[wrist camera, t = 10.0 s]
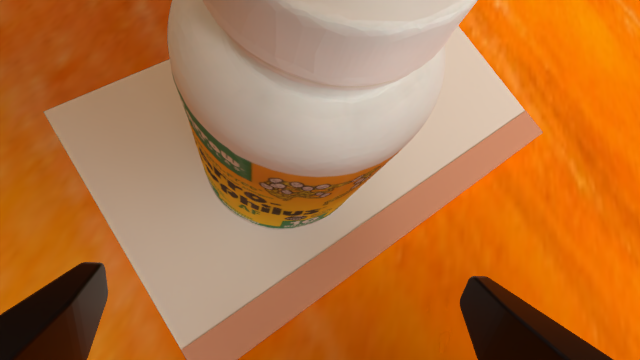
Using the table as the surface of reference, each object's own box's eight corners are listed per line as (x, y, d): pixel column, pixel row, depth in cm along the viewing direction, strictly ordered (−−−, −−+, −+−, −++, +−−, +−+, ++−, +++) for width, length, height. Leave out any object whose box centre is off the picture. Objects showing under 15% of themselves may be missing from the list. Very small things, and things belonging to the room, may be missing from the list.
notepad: (203, 382, 15) (201, 386, 15) (49, 117, 17) (42, 111, 16) (534, 136, 22) (543, 132, 22) (402, -33, 24) (406, -41, 24)
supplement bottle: (373, 135, 19) (588, -121, 7) (314, 260, 17) (493, 183, 5) (250, 69, 19) (265, -311, 7) (172, 187, 17) (-11, -90, 5)
